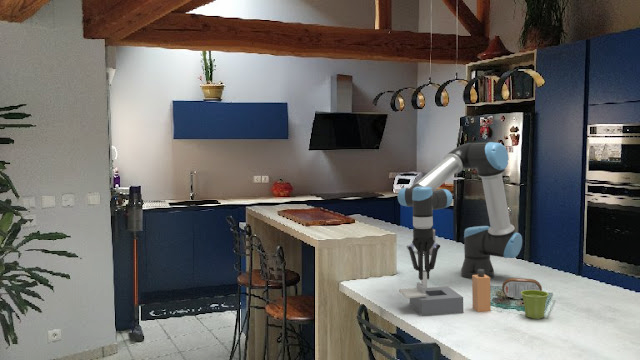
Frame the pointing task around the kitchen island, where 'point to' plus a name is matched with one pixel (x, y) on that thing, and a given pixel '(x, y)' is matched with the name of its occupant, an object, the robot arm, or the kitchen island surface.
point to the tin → (519, 286)
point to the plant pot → (534, 303)
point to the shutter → (414, 291)
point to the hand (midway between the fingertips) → (424, 287)
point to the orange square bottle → (481, 292)
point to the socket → (438, 302)
